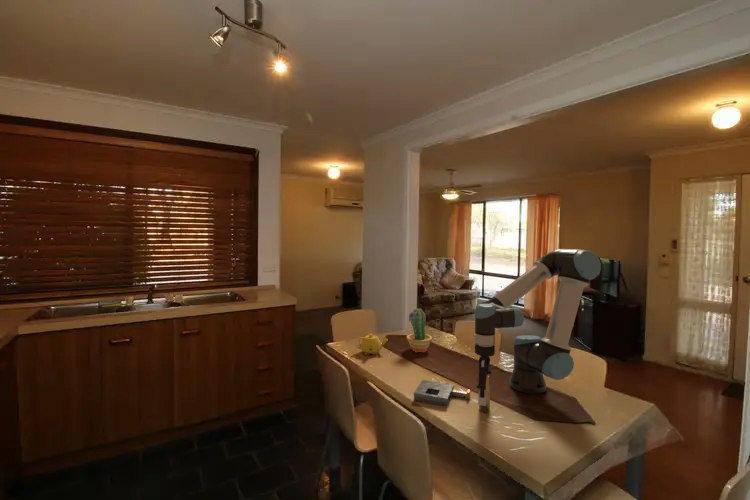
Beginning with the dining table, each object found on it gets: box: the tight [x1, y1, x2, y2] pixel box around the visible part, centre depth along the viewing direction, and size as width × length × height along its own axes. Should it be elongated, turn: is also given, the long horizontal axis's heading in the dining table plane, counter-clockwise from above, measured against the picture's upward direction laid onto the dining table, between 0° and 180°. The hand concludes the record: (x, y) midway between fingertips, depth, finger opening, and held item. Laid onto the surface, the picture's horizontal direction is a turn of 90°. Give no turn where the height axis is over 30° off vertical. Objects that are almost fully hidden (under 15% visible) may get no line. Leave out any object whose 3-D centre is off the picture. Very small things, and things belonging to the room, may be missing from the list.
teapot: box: [357, 333, 389, 356], centre depth 204 cm, size 14×14×11 cm
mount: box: [413, 379, 455, 408], centre depth 149 cm, size 14×14×4 cm
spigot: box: [478, 374, 491, 414], centre depth 137 cm, size 4×4×14 cm
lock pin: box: [452, 389, 471, 400], centre depth 150 cm, size 13×3×3 cm, turn 67°
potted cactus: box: [406, 308, 433, 353], centre depth 207 cm, size 15×15×25 cm
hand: (484, 397), depth 137 cm, fingers open, 13 cm apart
